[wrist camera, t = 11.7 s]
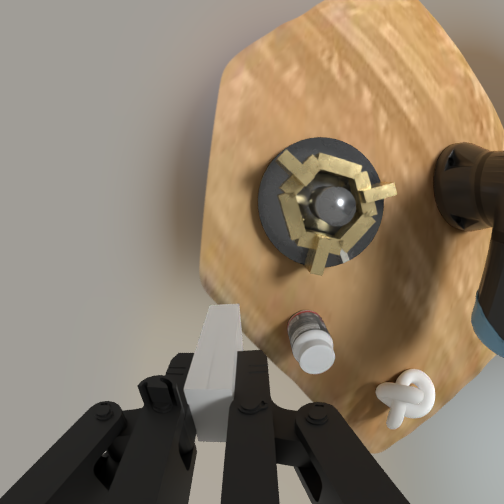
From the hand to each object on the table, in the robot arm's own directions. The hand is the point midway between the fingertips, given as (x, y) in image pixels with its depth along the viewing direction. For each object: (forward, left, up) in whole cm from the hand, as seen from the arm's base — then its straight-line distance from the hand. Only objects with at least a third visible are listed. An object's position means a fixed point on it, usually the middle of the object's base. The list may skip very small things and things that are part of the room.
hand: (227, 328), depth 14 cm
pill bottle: (-6, +16, -27) cm, 32 cm away
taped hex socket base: (-11, -1, -25) cm, 27 cm away
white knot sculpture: (-23, +36, -27) cm, 50 cm away
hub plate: (-12, -2, -26) cm, 29 cm away
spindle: (-12, -2, -26) cm, 29 cm away
